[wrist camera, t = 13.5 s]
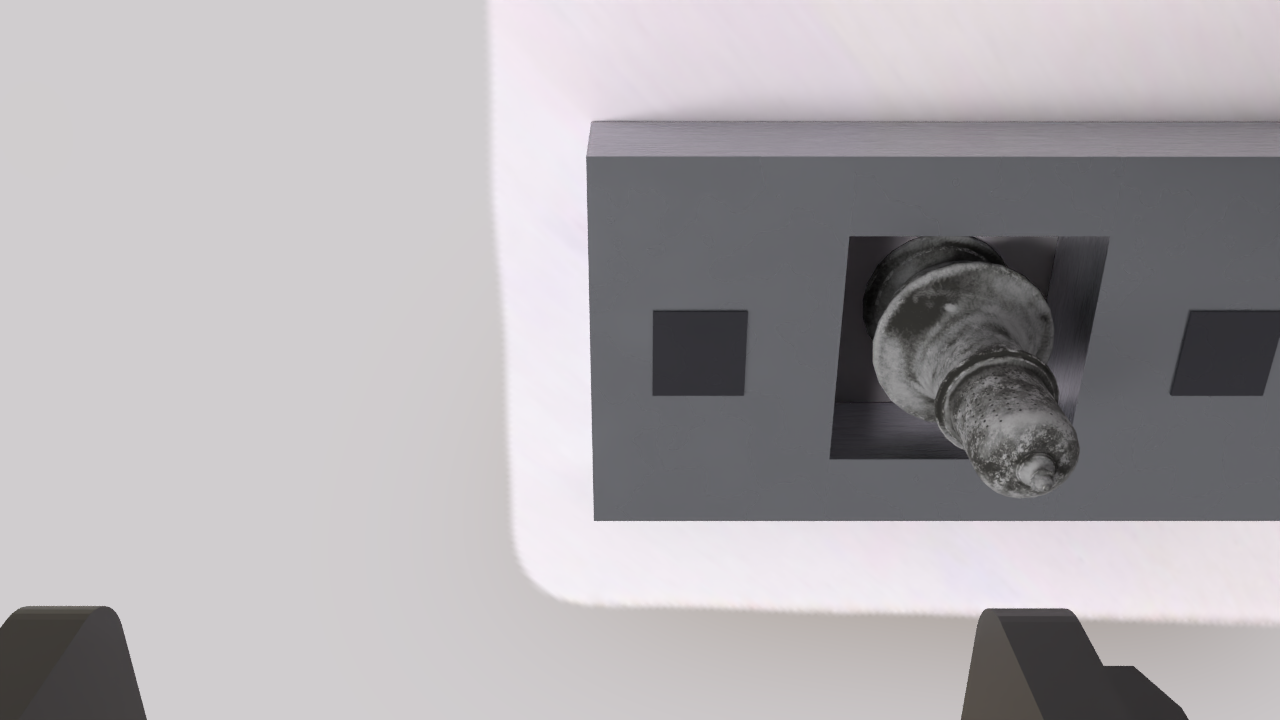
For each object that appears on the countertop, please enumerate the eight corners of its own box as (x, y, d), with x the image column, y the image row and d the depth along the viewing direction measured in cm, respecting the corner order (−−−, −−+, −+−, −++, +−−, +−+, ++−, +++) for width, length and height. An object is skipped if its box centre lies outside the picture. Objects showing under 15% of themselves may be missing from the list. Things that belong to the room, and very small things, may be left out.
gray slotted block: (1322, 121, 37) (1398, 157, 33) (1228, 460, 42) (1284, 522, 39) (591, 121, 36) (586, 157, 33) (597, 460, 42) (593, 522, 39)
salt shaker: (1003, 379, 41) (1133, 584, 30) (844, 373, 41) (916, 577, 30) (1036, 227, 38) (1190, 393, 27) (865, 220, 38) (953, 384, 27)
